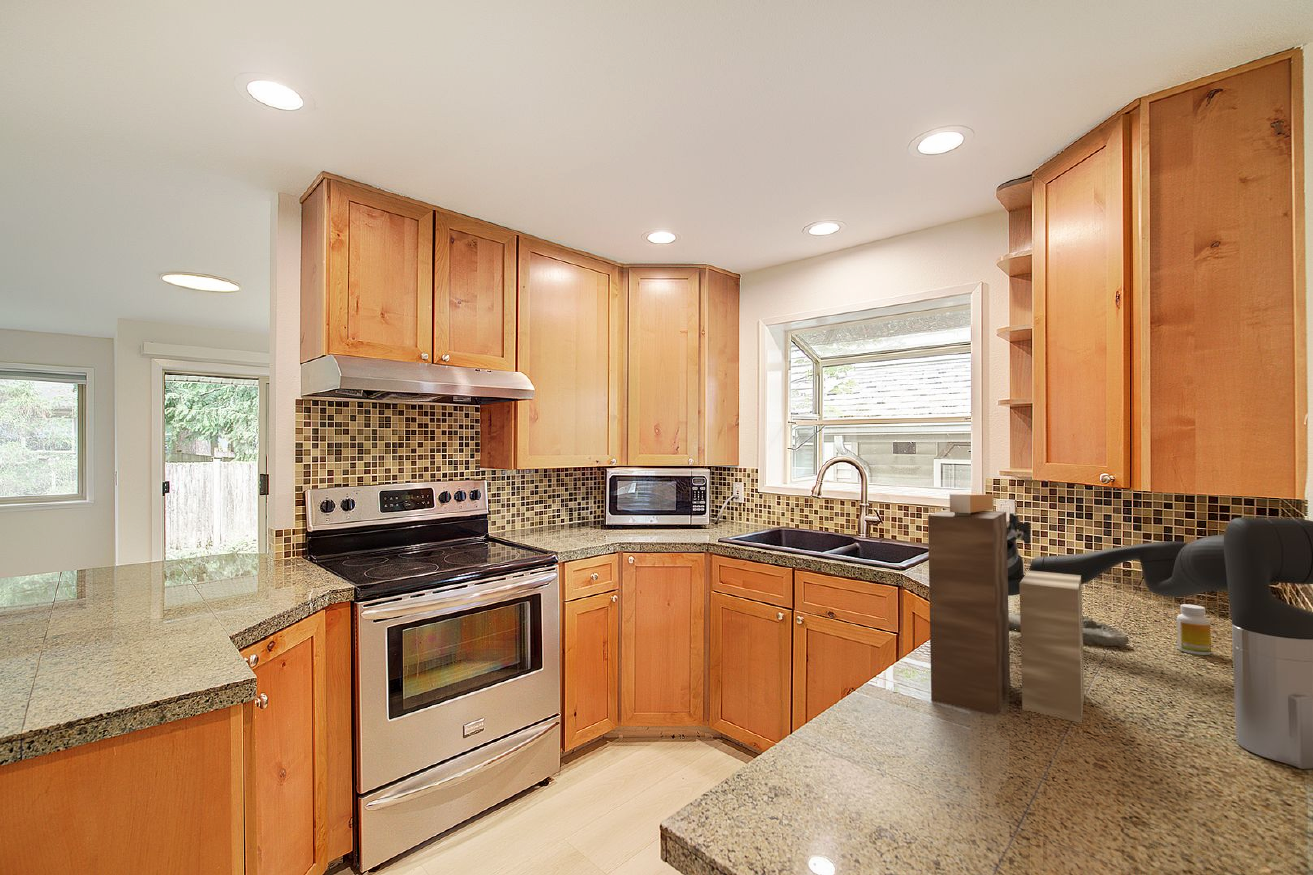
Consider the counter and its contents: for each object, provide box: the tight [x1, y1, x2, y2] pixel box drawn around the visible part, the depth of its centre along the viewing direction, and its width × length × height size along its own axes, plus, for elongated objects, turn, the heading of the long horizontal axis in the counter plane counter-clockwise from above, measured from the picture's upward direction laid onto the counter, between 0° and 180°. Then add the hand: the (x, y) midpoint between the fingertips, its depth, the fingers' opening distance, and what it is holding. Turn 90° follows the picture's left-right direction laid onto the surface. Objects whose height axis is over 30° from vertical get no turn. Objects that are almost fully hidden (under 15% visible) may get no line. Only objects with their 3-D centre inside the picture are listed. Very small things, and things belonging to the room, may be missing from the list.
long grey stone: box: [1009, 611, 1130, 648], centre depth 143 cm, size 35×5×10 cm
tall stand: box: [927, 508, 1011, 716], centre depth 106 cm, size 16×10×33 cm, turn 143°
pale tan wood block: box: [949, 493, 994, 513], centre depth 110 cm, size 26×3×3 cm, turn 142°
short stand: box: [1019, 569, 1085, 724], centre depth 102 cm, size 14×8×21 cm, turn 143°
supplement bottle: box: [1176, 603, 1212, 656], centre depth 127 cm, size 5×5×10 cm
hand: (987, 516), depth 124 cm, fingers open, 8 cm apart
